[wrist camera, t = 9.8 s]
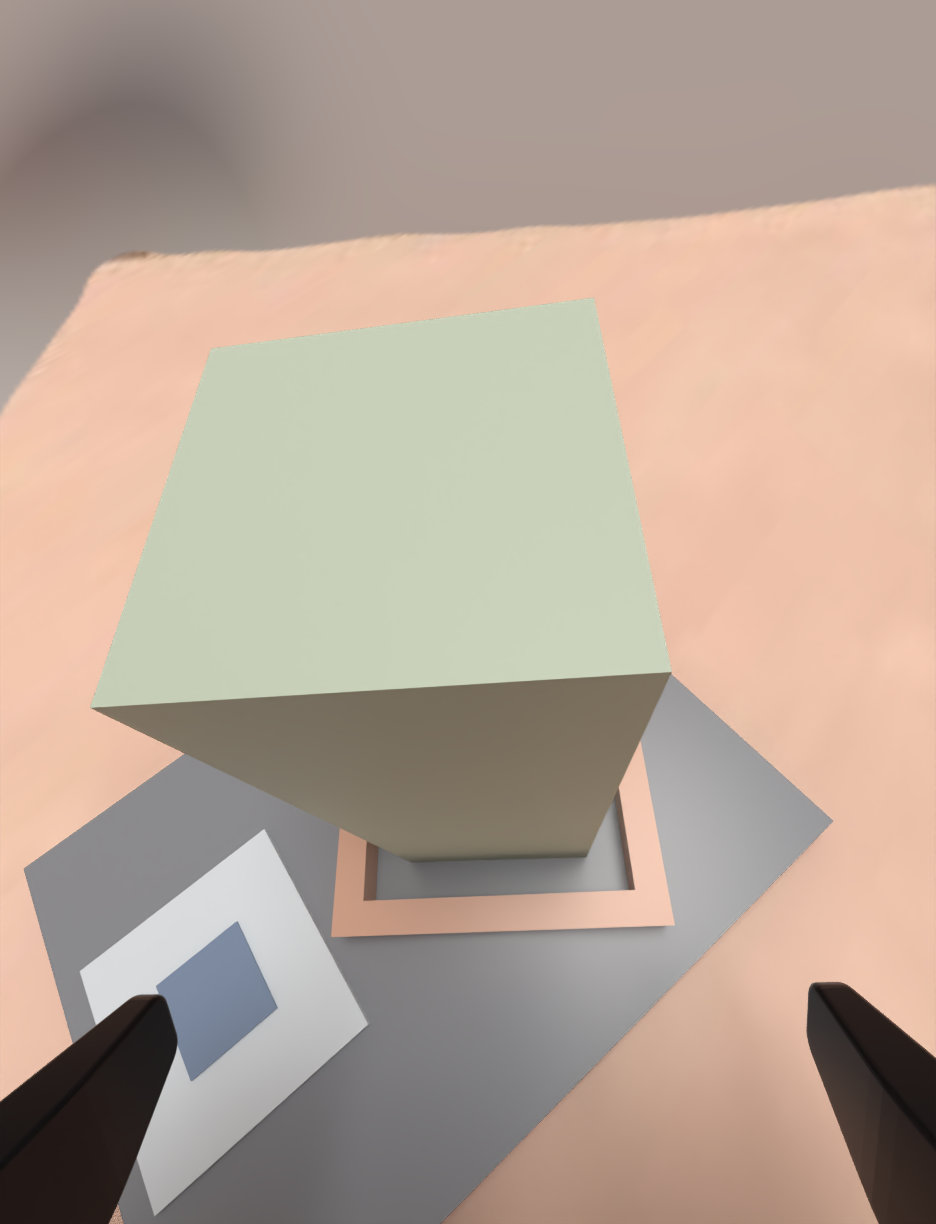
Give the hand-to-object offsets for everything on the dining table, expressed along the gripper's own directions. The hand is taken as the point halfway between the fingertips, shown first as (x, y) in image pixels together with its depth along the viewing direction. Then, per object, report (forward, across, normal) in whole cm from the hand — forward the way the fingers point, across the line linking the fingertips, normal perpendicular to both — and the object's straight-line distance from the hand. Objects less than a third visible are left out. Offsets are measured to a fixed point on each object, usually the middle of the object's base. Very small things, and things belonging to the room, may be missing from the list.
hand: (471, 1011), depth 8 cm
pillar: (+9, 0, +2) cm, 9 cm away
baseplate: (+9, +3, +4) cm, 10 cm away
